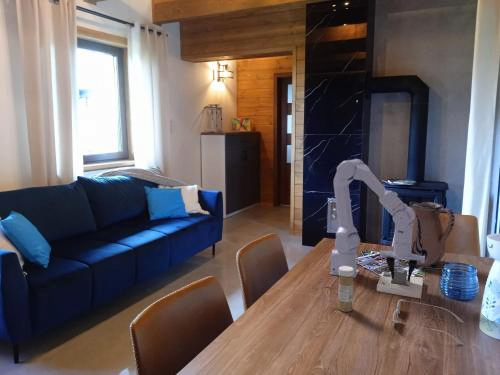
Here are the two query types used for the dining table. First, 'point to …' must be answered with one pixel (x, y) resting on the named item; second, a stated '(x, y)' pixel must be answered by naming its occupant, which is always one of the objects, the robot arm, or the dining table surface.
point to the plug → (400, 276)
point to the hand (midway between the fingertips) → (400, 279)
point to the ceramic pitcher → (429, 231)
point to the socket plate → (400, 286)
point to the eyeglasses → (423, 327)
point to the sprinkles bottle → (345, 288)
